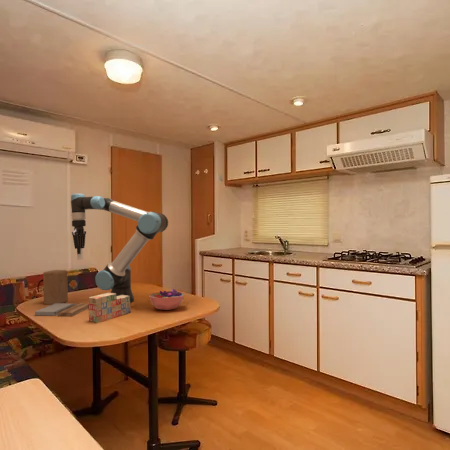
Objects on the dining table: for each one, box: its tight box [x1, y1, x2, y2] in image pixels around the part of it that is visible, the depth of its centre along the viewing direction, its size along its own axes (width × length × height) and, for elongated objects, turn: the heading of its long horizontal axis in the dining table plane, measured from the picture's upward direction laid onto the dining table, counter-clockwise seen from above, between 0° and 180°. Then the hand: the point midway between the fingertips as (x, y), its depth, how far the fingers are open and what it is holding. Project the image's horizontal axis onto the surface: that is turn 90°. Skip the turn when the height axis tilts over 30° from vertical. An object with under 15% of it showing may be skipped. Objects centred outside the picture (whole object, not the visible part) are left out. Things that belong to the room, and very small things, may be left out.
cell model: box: [148, 288, 186, 311], centre depth 185 cm, size 17×20×11 cm
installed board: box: [57, 302, 89, 318], centre depth 182 cm, size 8×20×2 cm, turn 175°
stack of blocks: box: [88, 292, 131, 324], centre depth 171 cm, size 21×6×12 cm, turn 148°
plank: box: [34, 302, 76, 317], centre depth 183 cm, size 12×18×2 cm, turn 175°
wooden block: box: [42, 269, 69, 306], centre depth 203 cm, size 10×10×20 cm
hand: (80, 259), depth 195 cm, fingers closed
